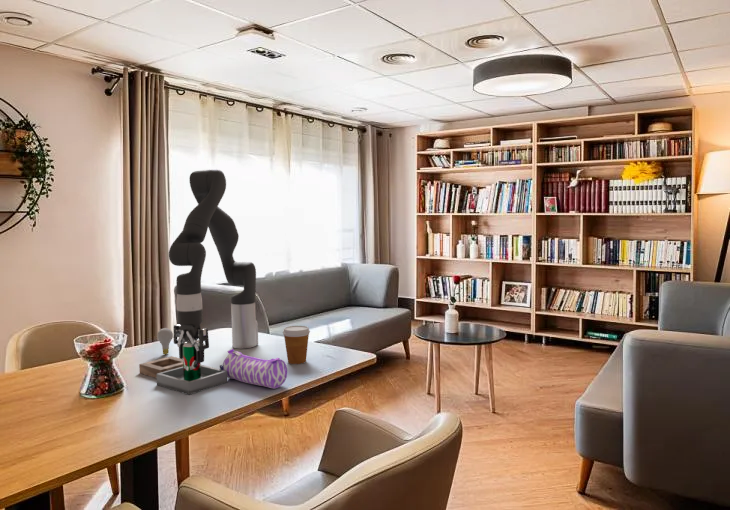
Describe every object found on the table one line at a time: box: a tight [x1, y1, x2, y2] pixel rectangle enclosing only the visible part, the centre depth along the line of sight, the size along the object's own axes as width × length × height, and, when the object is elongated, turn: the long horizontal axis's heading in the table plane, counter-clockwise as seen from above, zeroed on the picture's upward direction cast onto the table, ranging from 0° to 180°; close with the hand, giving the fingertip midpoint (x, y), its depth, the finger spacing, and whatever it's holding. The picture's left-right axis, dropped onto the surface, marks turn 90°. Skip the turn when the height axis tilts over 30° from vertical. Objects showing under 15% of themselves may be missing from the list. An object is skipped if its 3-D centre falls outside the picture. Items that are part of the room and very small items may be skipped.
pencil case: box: [219, 348, 288, 390], centre depth 165 cm, size 22×9×9 cm, turn 55°
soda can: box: [183, 341, 202, 381], centre depth 164 cm, size 5×5×12 cm
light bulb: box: [156, 327, 174, 356], centre depth 200 cm, size 6×6×10 cm
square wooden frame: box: [138, 355, 183, 379], centre depth 178 cm, size 12×12×3 cm
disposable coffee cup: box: [282, 325, 311, 365], centre depth 187 cm, size 10×10×12 cm
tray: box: [156, 364, 229, 396], centre depth 165 cm, size 14×16×4 cm
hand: (191, 360), depth 164 cm, fingers open, 8 cm apart
